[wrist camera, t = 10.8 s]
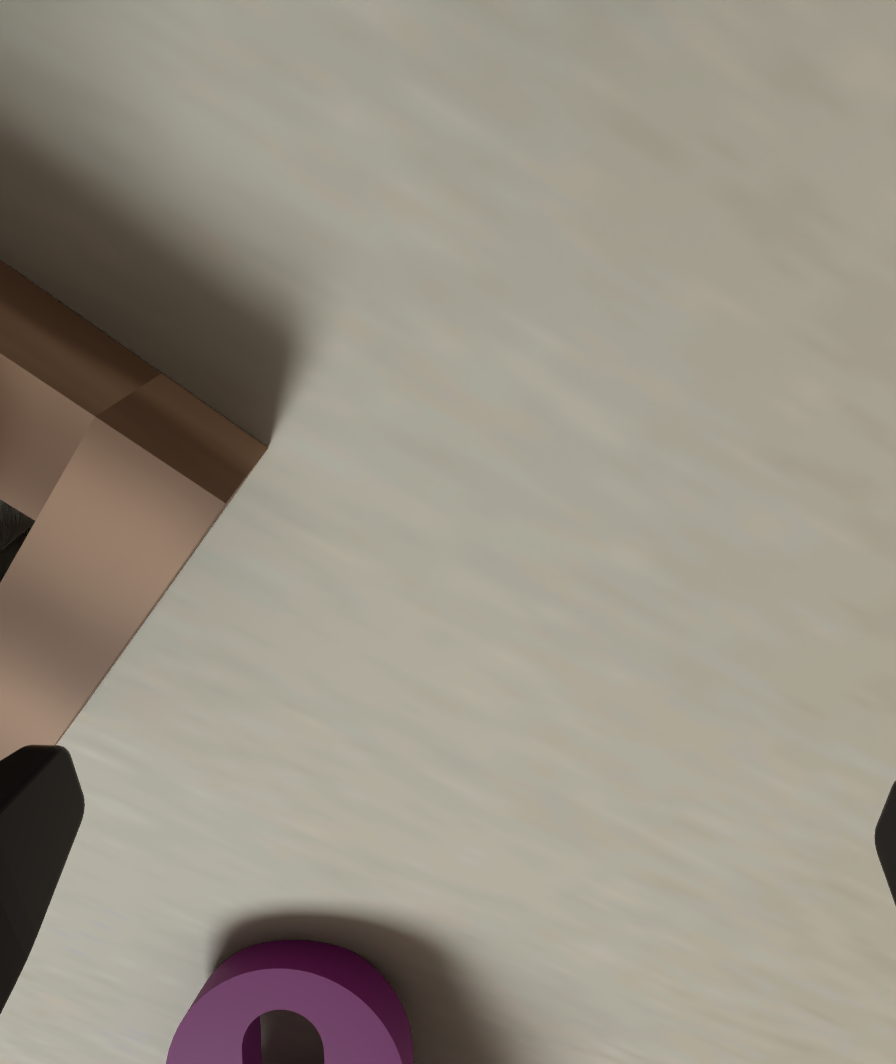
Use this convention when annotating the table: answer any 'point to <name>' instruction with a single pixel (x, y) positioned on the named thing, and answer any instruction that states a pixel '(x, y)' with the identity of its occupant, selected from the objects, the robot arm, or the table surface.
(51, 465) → the socket block
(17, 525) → the steel pin
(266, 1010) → the mounting bracket
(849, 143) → the table surface
